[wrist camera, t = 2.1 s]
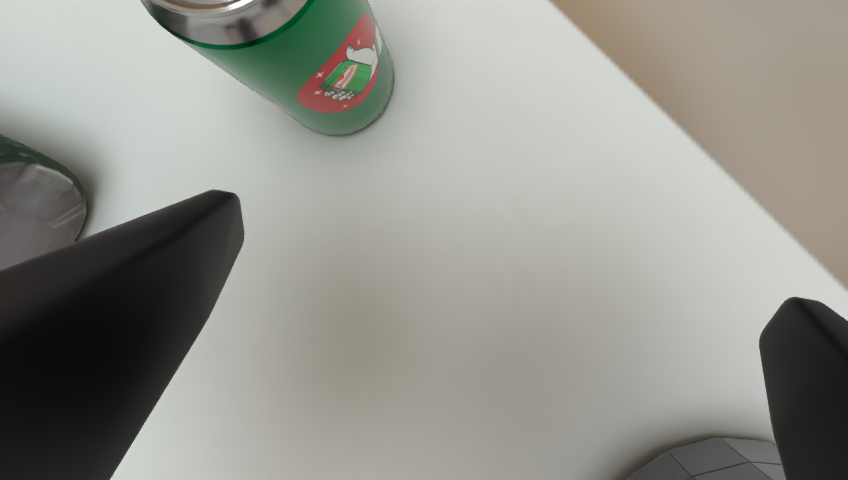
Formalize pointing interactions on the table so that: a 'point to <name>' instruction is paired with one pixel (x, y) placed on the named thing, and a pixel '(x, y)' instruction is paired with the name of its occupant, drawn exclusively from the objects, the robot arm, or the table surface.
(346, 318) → the table surface
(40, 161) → the coffee jar
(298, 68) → the soda can
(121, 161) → the table surface
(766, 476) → the grey ribbed bowl
